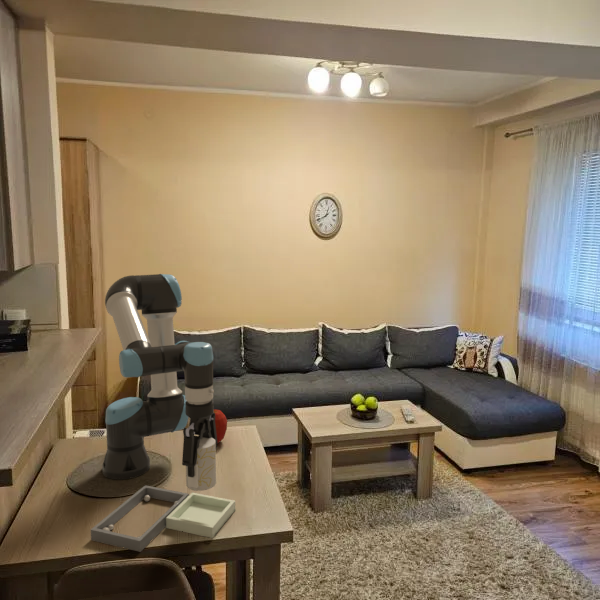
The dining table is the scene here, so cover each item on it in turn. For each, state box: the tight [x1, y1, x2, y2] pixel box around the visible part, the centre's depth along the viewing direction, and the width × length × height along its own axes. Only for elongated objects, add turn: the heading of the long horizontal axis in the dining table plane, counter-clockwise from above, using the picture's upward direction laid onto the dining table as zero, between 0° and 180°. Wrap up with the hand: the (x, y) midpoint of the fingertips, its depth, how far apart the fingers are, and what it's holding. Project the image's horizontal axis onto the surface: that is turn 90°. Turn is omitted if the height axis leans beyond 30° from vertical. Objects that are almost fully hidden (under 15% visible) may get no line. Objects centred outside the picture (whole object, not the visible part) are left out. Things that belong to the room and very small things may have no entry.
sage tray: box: [165, 492, 236, 539], centre depth 145 cm, size 14×14×3 cm
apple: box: [213, 408, 228, 445], centre depth 193 cm, size 10×10×14 cm
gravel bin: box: [90, 484, 190, 553], centre depth 144 cm, size 15×24×3 cm, turn 162°
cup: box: [185, 437, 217, 492], centre depth 143 cm, size 8×8×12 cm
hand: (201, 478), depth 143 cm, fingers closed on cup, 8 cm apart
